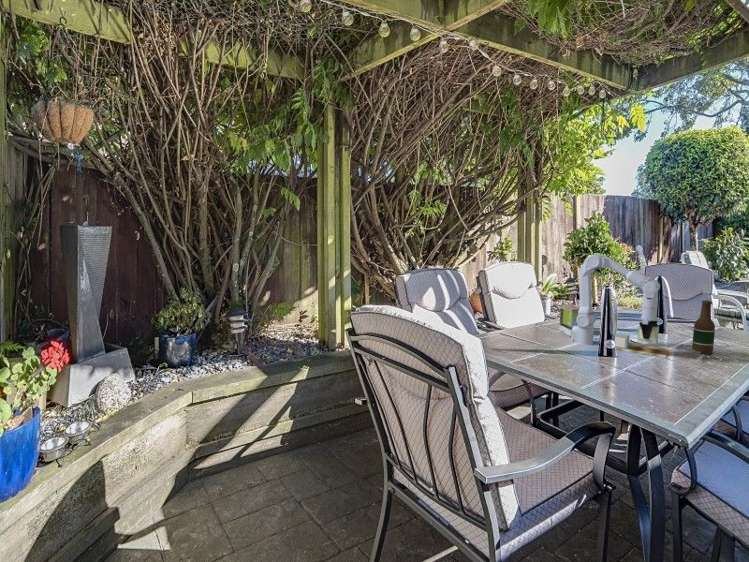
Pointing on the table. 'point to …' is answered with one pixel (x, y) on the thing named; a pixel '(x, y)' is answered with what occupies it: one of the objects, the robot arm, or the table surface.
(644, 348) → the display board
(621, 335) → the slate carton
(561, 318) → the tea box
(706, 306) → the beer bottle
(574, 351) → the table surface
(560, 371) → the table surface
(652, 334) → the sage carton
